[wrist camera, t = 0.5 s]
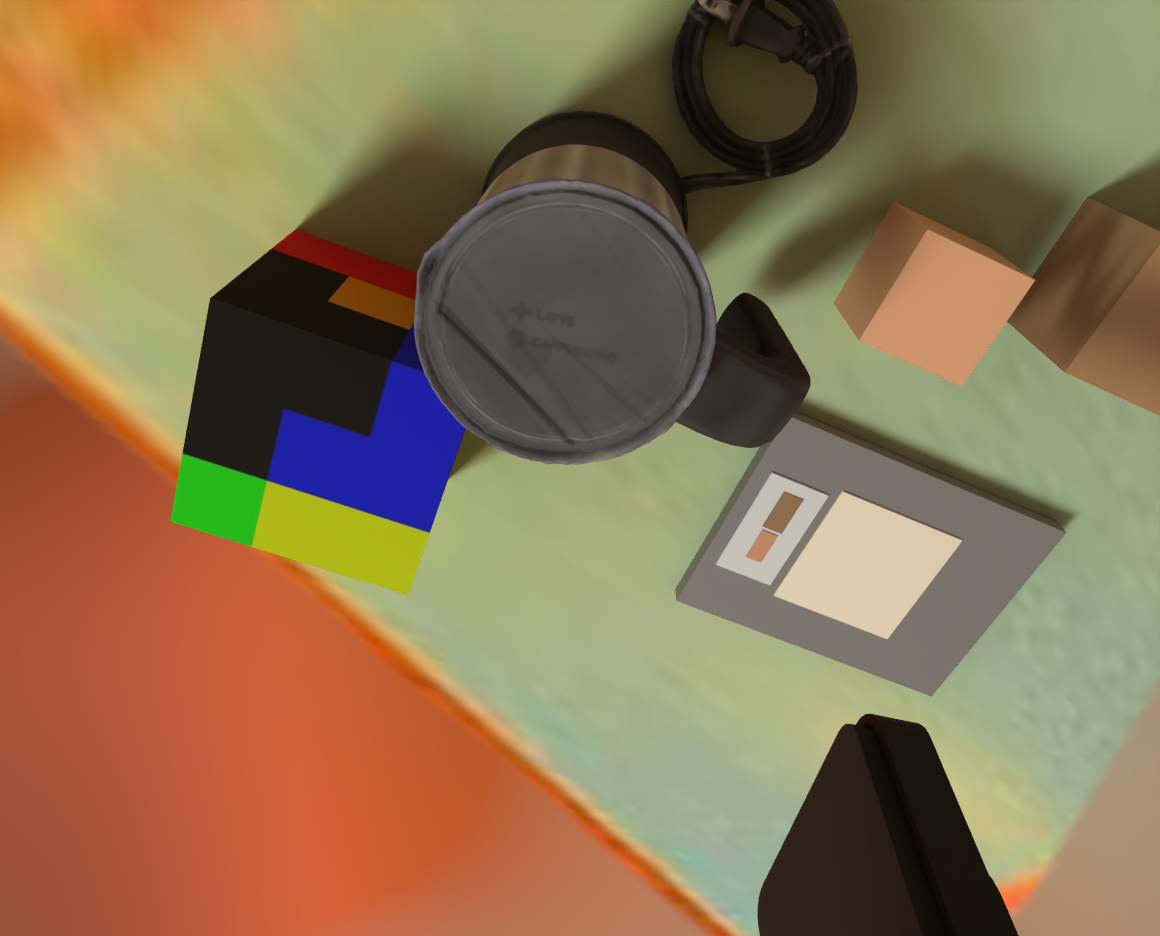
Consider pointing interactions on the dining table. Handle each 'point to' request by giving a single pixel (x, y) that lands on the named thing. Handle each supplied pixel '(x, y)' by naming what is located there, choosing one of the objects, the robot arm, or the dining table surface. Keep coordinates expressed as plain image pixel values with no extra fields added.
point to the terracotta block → (930, 294)
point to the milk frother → (622, 270)
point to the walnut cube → (1100, 304)
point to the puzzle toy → (317, 416)
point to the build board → (864, 555)
